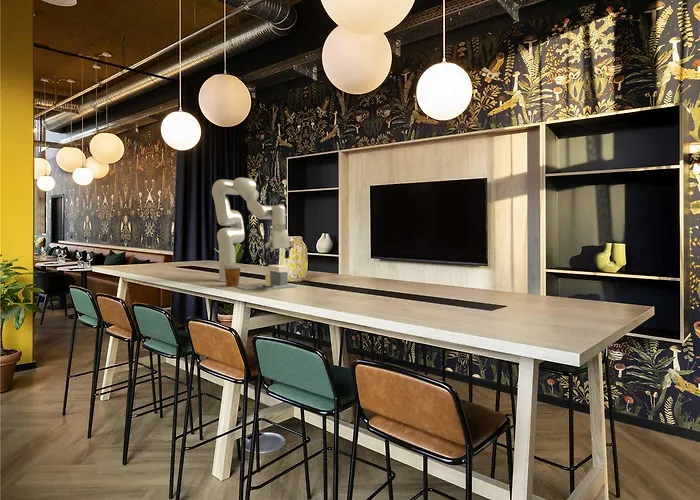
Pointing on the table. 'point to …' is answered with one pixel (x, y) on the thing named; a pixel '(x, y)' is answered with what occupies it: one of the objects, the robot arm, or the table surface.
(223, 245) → the robot arm
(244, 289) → the mat
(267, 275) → the tan rectangular wooden board
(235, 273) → the disposable coffee cup
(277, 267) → the cover
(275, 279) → the housing
